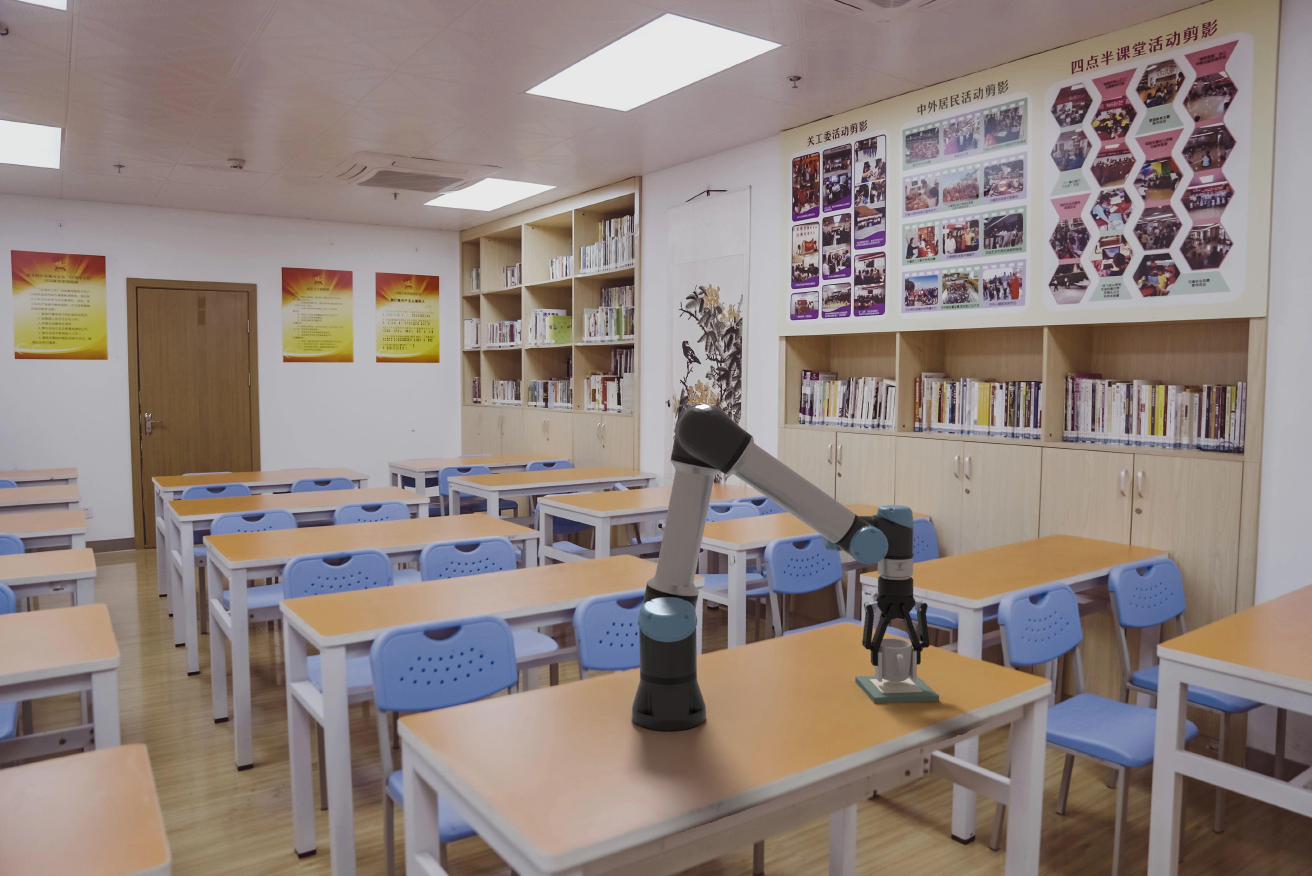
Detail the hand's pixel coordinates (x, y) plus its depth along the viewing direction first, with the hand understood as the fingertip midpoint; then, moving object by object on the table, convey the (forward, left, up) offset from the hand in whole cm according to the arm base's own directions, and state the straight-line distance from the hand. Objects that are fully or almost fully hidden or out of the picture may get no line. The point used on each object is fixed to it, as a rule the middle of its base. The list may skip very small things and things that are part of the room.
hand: (895, 678), depth 189 cm
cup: (0, 0, -1) cm, 1 cm away
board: (0, 0, -3) cm, 3 cm away
